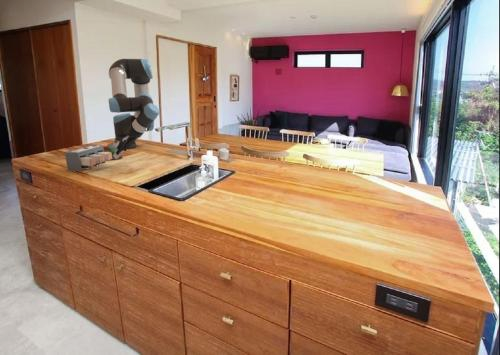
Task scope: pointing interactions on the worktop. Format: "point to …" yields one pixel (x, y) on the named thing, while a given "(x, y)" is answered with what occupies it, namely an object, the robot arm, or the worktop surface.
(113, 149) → the food container
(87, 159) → the plunger
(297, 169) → the worktop surface
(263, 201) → the worktop surface
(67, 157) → the grey slotted holder
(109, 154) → the plunger
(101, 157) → the plunger middle
